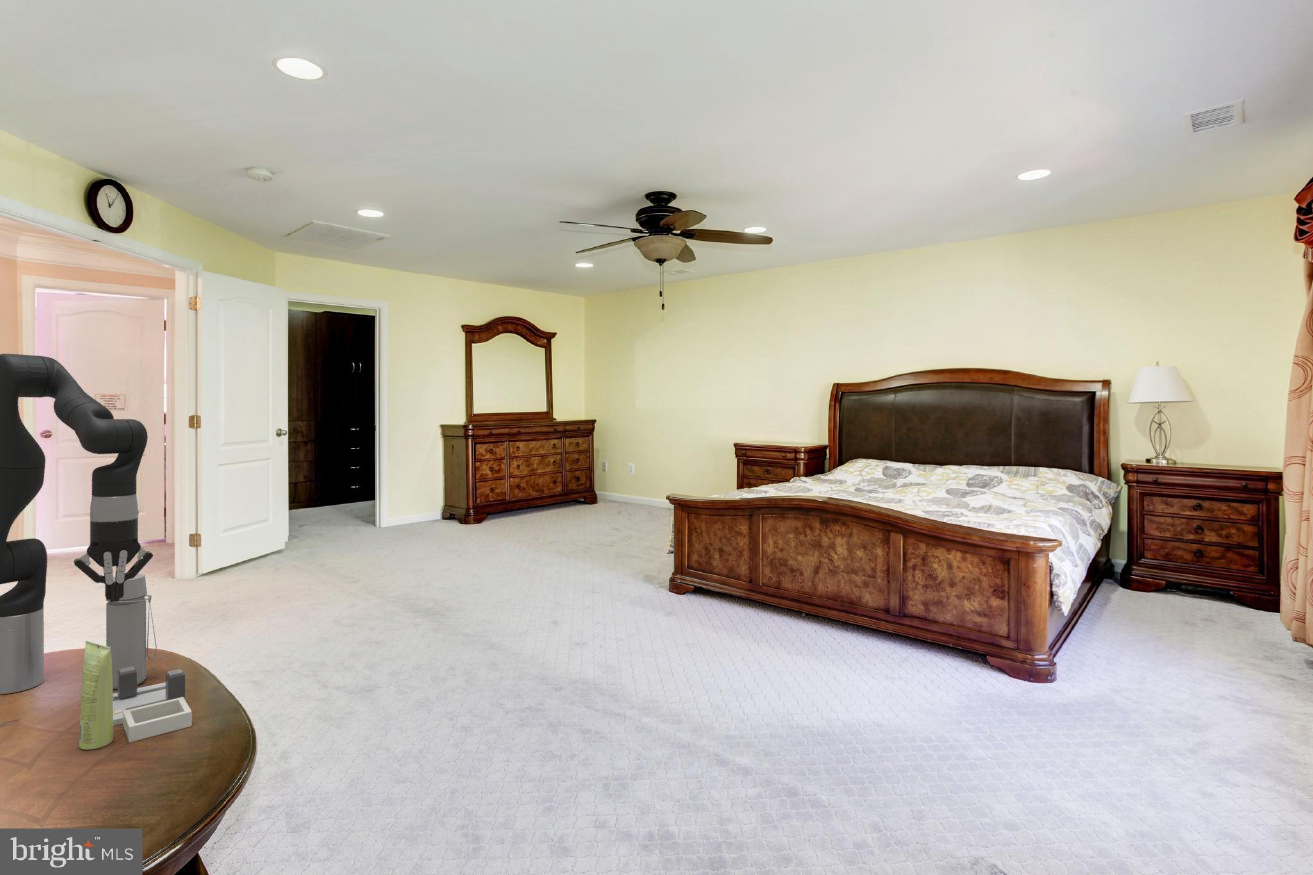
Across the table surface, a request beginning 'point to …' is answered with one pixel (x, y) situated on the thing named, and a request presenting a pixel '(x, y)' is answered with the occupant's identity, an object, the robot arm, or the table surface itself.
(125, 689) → the block
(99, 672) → the tube
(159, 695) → the breaker panel
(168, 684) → the block
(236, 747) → the table surface
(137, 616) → the water bottle
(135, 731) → the frame
